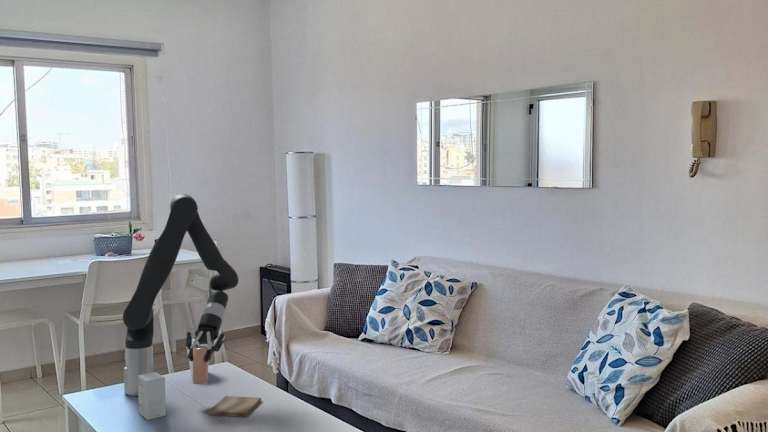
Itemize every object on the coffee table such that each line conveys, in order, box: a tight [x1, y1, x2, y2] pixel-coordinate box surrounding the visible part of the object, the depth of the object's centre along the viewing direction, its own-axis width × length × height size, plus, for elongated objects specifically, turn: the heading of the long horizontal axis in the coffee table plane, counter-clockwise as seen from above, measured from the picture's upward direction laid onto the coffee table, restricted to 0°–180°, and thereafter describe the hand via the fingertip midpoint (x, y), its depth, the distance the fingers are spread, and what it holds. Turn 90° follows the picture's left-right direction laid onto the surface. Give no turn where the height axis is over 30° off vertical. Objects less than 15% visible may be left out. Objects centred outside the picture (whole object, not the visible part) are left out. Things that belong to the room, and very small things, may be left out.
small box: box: [137, 371, 167, 420], centre depth 221 cm, size 8×6×13 cm
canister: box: [192, 346, 209, 385], centre depth 231 cm, size 5×5×12 cm
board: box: [207, 395, 262, 418], centre depth 228 cm, size 13×15×1 cm
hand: (198, 360), depth 229 cm, fingers closed on canister, 5 cm apart
